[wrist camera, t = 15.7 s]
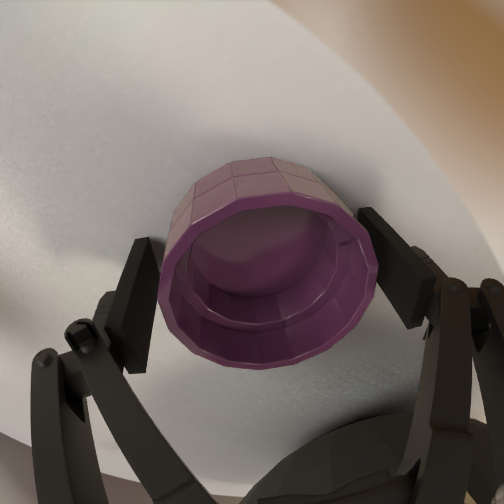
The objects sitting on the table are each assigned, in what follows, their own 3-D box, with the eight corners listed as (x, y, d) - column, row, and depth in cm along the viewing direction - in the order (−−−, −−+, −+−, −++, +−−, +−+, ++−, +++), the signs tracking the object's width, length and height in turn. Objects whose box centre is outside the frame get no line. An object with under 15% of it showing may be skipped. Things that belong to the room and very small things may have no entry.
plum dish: (153, 170, 14) (130, 215, 10) (339, 147, 15) (388, 182, 10) (190, 313, 19) (188, 379, 15) (334, 291, 20) (363, 350, 15)
